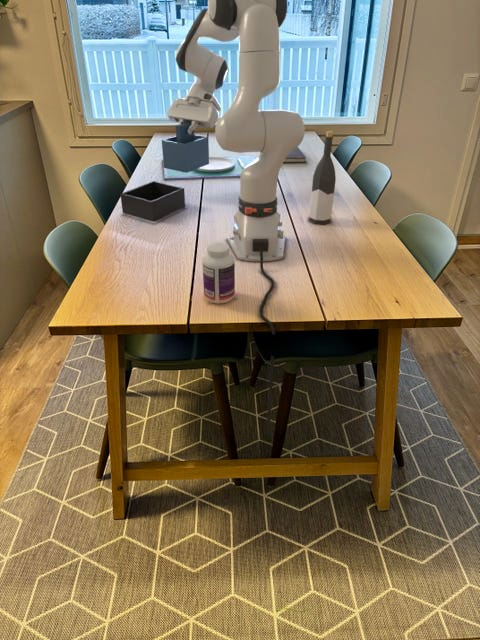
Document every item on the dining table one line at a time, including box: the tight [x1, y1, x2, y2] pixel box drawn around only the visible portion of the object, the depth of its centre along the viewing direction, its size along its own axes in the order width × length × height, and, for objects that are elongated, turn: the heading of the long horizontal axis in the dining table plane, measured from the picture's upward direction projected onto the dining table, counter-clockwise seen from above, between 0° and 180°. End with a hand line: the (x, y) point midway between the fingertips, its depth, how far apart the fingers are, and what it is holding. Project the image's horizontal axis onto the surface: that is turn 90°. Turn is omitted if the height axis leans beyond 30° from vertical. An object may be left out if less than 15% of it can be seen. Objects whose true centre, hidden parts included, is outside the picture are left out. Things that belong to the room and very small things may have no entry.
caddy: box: [161, 122, 210, 173], centre depth 175 cm, size 14×11×15 cm
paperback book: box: [283, 146, 307, 164], centre depth 234 cm, size 16×23×2 cm
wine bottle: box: [308, 130, 337, 225], centre depth 159 cm, size 8×8×30 cm
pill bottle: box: [201, 241, 236, 304], centre depth 119 cm, size 8×8×14 cm
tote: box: [119, 180, 186, 223], centre depth 170 cm, size 18×15×8 cm
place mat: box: [162, 155, 257, 181], centre depth 217 cm, size 45×30×2 cm
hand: (184, 132), depth 172 cm, fingers closed on caddy
